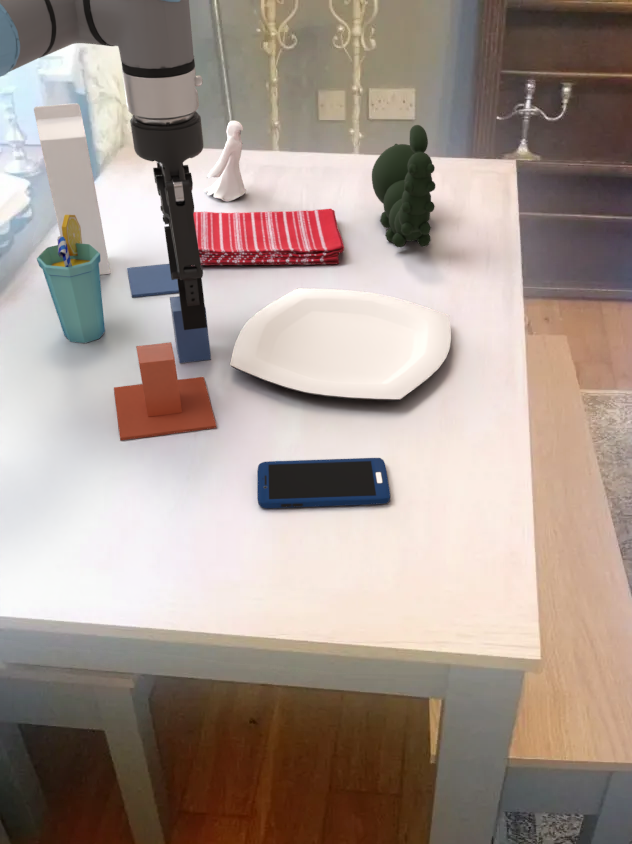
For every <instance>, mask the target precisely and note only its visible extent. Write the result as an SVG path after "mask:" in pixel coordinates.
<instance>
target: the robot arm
mask: <svg viewBox="0 0 632 844" xmlns="http://www.w3.org/2000/svg"><path fill="white" fill-rule="evenodd" d="M192 34H193V31H192V19H191V9H190V0H0V78H1V77H5V76H6V75H7V74H8V73H10V72H12V71H14V70H17V69H19V68H20V67H21V68H22V67H23V66H25V65H27V64H30V63H31V62H33V61H35V60H37V59H41V58H44V57H46V56H48V55H51V54H53V53H55V52H57V51H60V50H62V49H65V48H66V47H70V46H71V45H75V44H87V45H96V46H97V45H98V46H106V47H118V52H119V57H120V62H121V73H122V80H123V86H124V87H123V88H124V93H125V100H126V107H127V111H128V112H129V113H130V114H131V115H132V116H131V118H130V119H129V122H130V123H129V125H130V129H131V136H132V143H133V149H134V152H135V154H136V155H137V156H138V157H139V158H141V159H143V160H144V161H148V162H152V163H153V162H156V167H152V171H153V178H154V183H155V184H156V189H157V193H158V196H159V197H160V207H159V208H160V211H161V212H162V214H163V215H162V222H163V223H164V225H167V226H164V228H163V229H164V235H165V242H166V243H165V244H166V251H167V257H168V264H169V265H170V273H171V279H172V280H175V279H177V282H178V289H179V293H178V296H179V297H180V305H181V312H182V320H183V327H184V330H190V329H199V328H207V326H208V321H207V322H206V317H207V312H206V313H205V308H206V304H205V296H204V287H203V276H204V269H202V265H201V263H200V256H199V249H198V242H197V235H196V228H195V222H194V215H193V214H194V212H195V202H194V197H193V196H194V195H193V185H194V182H193V177H192V176H193V175H192V173H191V172H190V167H189V164H184V162H186V161H187V160H189V159H193V158H195V157H197V156H199V155H200V154H201V153H202V152H203V149H204V135H203V127H202V125H203V124H202V118H201V115H200V114H199V113H198V112H197V110H198V109H199V107H200V102H199V92H198V90H197V88H196V87H200V86H202V85H203V83H204V82H203V81H204V80H203V77H202V75H199V74H197V75H196V73H197V72H196V64H195V63H196V62H195V61H196V60H195V55H194V44H193V35H192Z"/></svg>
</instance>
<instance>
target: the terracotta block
mask: <svg viewBox="0 0 632 844" xmlns="http://www.w3.org/2000/svg"><path fill="white" fill-rule="evenodd" d="M135 347H136V349H135V350H136V354H137V361H138V367H139V372H140V378H141V384H142V385H143V391H144V397H145V403H146V409H147V415H148V417H152V416H160V415H168V414H176V413H182V407H181V400H180V393H179V385H178V380H179V378H178V371H177V365H176V359H175V358H176V357H175V353H174V349H173V344H172V342H171V341H170V342H169V341H168V342H161V343H152V344H151V343H150V344H144V345H143V344H142V345H136V346H135Z"/></svg>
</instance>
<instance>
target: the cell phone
mask: <svg viewBox="0 0 632 844" xmlns="http://www.w3.org/2000/svg"><path fill="white" fill-rule="evenodd" d="M256 476H257V477H256V478H257V479H256V480H257V484H256V485H257V489H256V490H257V491H256V493H257V497H256V499H257V504H258V505H259V507H260V508H264V509H286V508H289V509H290V508H314V507H338V506H339V507H340V506H365V505H370V506H371V505H384V504H388V503H389V502H390V500H391V491H390V489H391V488H390V484H389V478H388V472H387V467H386V463H385V461H384V459H382V458H381V457H359V458H358V457H357V458H356V457H355V458H329V459H328V458H327V459H300V460H299V459H298V460H297V459H296V460H273V461H272V460H271V461H262V462H260V463H259V464H258V465H257V475H256Z"/></svg>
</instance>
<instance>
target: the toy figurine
mask: <svg viewBox="0 0 632 844" xmlns="http://www.w3.org/2000/svg"><path fill="white" fill-rule="evenodd" d="M428 145H429V139H428V134H427V131H426V130H425V128H424V127H423V126H422V125H421V124H415V125H412V126H411V128H410V130H409V144H405V143H399V144H398V143H394V144H393V145H392V146H390V147H388V148H386V149H385V150H384V151H383V152H381V154H379V156H378V157H377V159H376V160H375V162H374V164H373V167H372V169H371V182H372V183H371V184H372V189H373V191H374V195H375V196H376V198H377V199H378V201H379V202H380V203H381V204H383V212H382V213H381V216H380V218H379V219H380V220H379V221H380V225H382V227H383V228H384V229H386V232H385V234H384V236H385V239H386V240H387V241H388V242H390V243H392V244H393V245H394V246H395V247H397V248H403V247H404V246H405V245H406V243H407V242H414V241H415V242H417V244H418V245H419V246H420V247H422V248H423V247H427V246H429V245H430V243H431V241H432V238H431V235H430V232H431V230H432V226H431V224H430V220H431V213H433V212H434V210H435V207H436V206H435V203H434V202H433V201H432V194H431V192H433V191H435V189H436V183H435V181H433V177H432V174H433V173H434V172H435V169H436V167H435V165H434V164H433V160H432V158H431V156H430V155H429V154H427V152H426V151H427V149H428Z"/></svg>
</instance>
